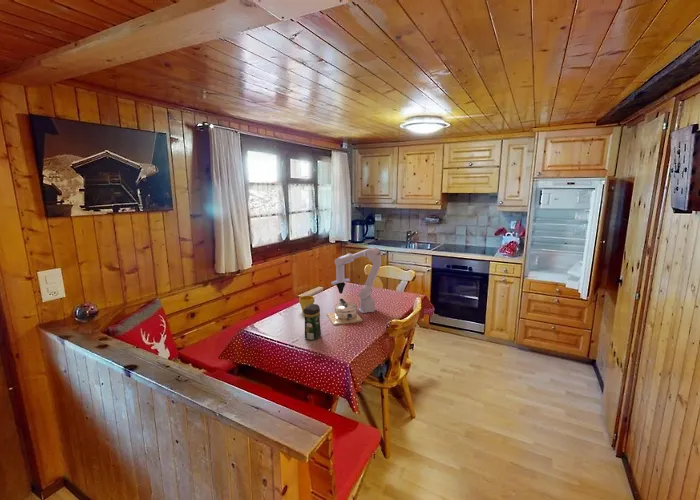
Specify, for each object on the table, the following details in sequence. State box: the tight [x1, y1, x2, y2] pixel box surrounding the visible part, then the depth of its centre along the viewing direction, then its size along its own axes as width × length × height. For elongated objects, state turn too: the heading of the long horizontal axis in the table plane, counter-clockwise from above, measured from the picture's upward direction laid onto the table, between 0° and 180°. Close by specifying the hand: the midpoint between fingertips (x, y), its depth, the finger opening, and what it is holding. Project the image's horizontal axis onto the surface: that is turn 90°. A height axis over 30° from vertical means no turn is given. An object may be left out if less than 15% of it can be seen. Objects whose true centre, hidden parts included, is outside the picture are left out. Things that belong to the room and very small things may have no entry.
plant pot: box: [298, 294, 315, 314], centre depth 224 cm, size 10×10×10 cm
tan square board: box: [326, 308, 363, 326], centre depth 213 cm, size 19×22×6 cm
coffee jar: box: [303, 303, 322, 341], centre depth 183 cm, size 10×8×19 cm
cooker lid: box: [333, 298, 358, 312], centre depth 213 cm, size 18×15×3 cm
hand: (340, 293), depth 230 cm, fingers closed
